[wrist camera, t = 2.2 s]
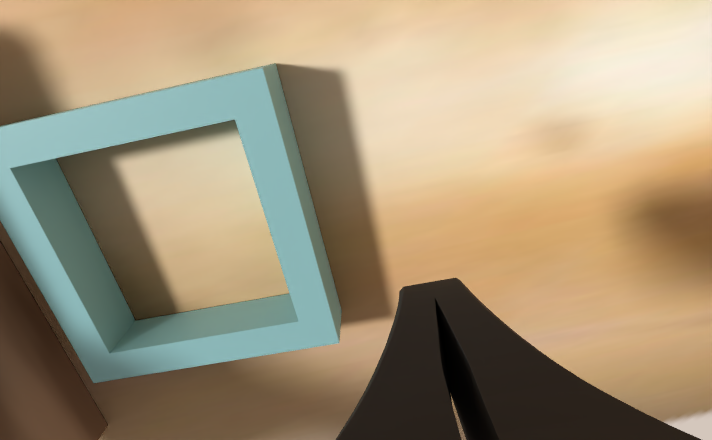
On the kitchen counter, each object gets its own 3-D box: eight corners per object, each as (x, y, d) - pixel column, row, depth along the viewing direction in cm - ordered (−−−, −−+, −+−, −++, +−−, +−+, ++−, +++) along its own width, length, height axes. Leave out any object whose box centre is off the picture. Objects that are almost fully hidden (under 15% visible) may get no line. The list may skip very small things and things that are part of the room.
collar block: (120, 348, 23) (93, 383, 21) (3, 125, 18) (-48, 137, 16) (341, 310, 22) (339, 343, 20) (275, 63, 17) (262, 67, 15)
